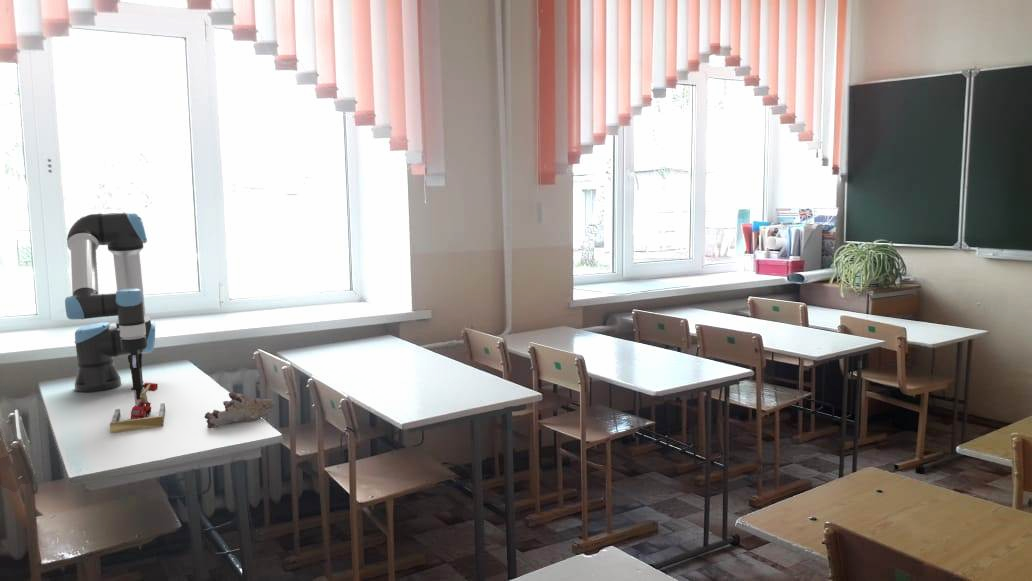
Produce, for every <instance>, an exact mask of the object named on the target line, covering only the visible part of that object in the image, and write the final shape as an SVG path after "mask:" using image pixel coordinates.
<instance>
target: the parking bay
mask: <svg viewBox="0 0 1032 581" xmlns="http://www.w3.org/2000/svg"><path fill="white" fill-rule="evenodd" d="M159 406H160V407H159V412H158V415H156V416H148V417H145V418H140V419H132V420H130V419H126V420H121V408H115V410H114V413H113V415H112V419H111V420H110V422H109V430H110V434H114V433H121V432H128V431H135V430H138V431H139V430H144V429H150V428H158V427H159V428H160V427H163V426H164V422H165V416H166V415H165V414H166V405H165V402H163V403H160V405H159Z"/></svg>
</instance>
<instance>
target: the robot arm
mask: <svg viewBox="0 0 1032 581" xmlns="http://www.w3.org/2000/svg"><path fill="white" fill-rule="evenodd" d="M147 239H148V238H147V235H146V230H145V226H144V223H143V219H142V215H141V213H140V212H138V211H131V210H130V211H128V210H125V211H123V210H121V211H107V212H106V211H105V212H91V213H87V214H84V215H83V216H81V217H80V218H79V219H77V220H76V222H75V223H73V225H72V226H71V227H70V229H69V231H68V234H67V237H66V244H67V246H66V247H67V248H68V250H69V251H70V262H71V264H70V266H71V289H72V292H71V294H72V295H71V296H67V297H65V299H64V304H65V305H64V306H65V314H66V318H67V319H68V320H86V319H87V320H88V319H96V318H104V317H107V318H109V317H115V316H116V317H117V319H116V320H115V325H111V324H110V322H107V321H104V322H98V323H92V324H88V325H85V326H81V327H79V328H77V329H76V330H75V332H74V344H75V350H76V359H77V360H76V361H77V373H76V376H75V381H74V390H75V391H76V392H79V393H82V392H83V393H91V392H99V391H106V390H110V389H114V388H117V387H119V386H121V385H122V379H121V378H122V377H121V376H120V374H119V372H118V370H117V368H116V366H115V362H114V358H115V357H116V358H117V357H126V356H127V361H128V363H129V369H130V372H131V373H130V375H131V381H132V387H131V389H130V390H131V391H133V395H134V396H133V397H134V406H138V405H139V403H140V402H142V401H141V399H140V394H141V392H143V391H144V380H143V379H144V378H143V354H150V353H152V352H153V351H154V350H155V344H156V323H155V321H151V320H152V319H151V317H150V316H149V315H148V314H146V306H145V296H144V286H143V274H142V265H141V256H140V252H141V251H142V250H143V249H144V244H146V243H148V240H147ZM99 246H107V251H108V252H110V253H111V254H112V255H113V265H114V271H115V272H114V273H115V281H116V292H111V293H99V283H98V282H99V281H98V280H99V279H98V265H97V264H98V263H97V250H98V248H99ZM143 406H145V404H144V405H143Z"/></svg>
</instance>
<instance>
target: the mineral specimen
mask: <svg viewBox="0 0 1032 581" xmlns="http://www.w3.org/2000/svg"><path fill="white" fill-rule="evenodd" d="M228 397H229V399H231V400H224V401H222V405H223V406H224V409H225V410H221V411H220V410H216V409H213V411H212V412H210V411H209V412H206V413H205V414H204V419H206V421H205V422H206V423H207V426H206V428H207V429H214V428H215V427H218V426H220V425H223V424H224V425H226V424H231V423H234V422H242V423H243V422H251V421H257V420H259V419H261V418H263V417H265V416H268V415H270V414H271V413H272V412H273V410H274V408H275V406H274V405H275V401H274V399H271V398H270V399H266V398H265V399H262V398H259V397H256V398H252V397H249V396H247V395H245V394H243V393H235V391H232V392H231V391H230V392H229V393H228Z"/></svg>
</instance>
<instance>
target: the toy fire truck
mask: <svg viewBox="0 0 1032 581" xmlns="http://www.w3.org/2000/svg"><path fill="white" fill-rule="evenodd" d="M143 385H144V387H143V390H144V391H143V392H141V394H140V399H141V401H142V402H140V403H139V405H138V406H135V405H134V406H133V407H131V412H130V418H129V420H132V419H140V418H148V417H149V416H150V415H151V412H152V406H151V402H149V401H148V396H147V392H155V391H157V390H158V383H152V382H144V383H143ZM144 404H145V406H143V405H144Z"/></svg>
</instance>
